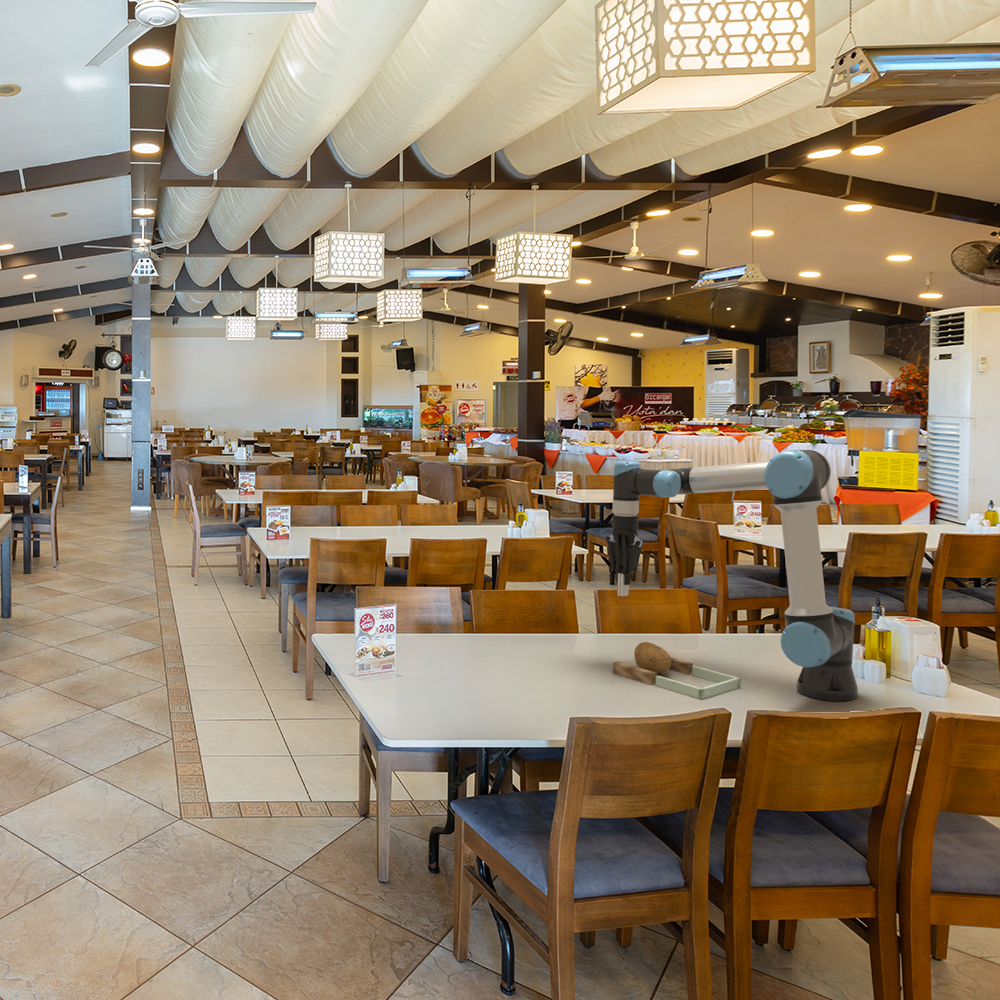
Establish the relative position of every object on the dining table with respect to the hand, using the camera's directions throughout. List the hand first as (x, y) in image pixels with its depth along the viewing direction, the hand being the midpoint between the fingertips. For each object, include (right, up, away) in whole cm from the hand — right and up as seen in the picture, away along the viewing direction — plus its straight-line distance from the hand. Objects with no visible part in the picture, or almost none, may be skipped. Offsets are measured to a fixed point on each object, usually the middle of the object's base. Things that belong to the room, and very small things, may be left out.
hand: (622, 595), depth 254 cm
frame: (+18, -23, -19) cm, 34 cm away
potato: (+7, -22, -7) cm, 24 cm away
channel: (+7, -21, -7) cm, 24 cm away
